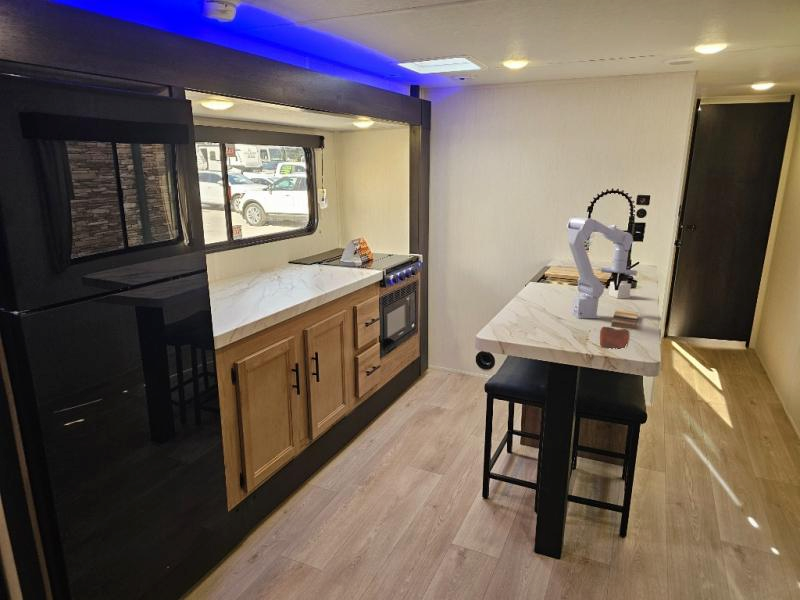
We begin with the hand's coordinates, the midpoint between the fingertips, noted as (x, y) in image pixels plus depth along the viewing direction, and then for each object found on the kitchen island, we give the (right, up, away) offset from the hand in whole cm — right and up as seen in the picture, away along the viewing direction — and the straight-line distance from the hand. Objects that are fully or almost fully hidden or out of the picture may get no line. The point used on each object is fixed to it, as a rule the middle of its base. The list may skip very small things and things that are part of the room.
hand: (616, 289), depth 230 cm
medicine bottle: (+15, -3, +32) cm, 36 cm away
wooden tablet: (-15, -20, -33) cm, 41 cm away
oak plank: (+1, -12, -6) cm, 14 cm away
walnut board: (-4, -15, -16) cm, 22 cm away
